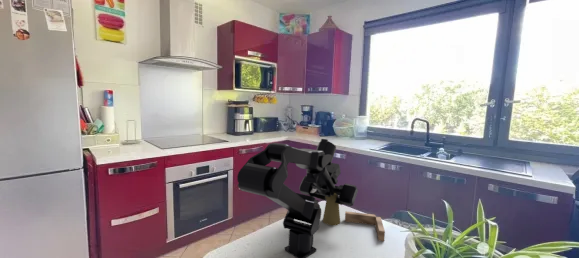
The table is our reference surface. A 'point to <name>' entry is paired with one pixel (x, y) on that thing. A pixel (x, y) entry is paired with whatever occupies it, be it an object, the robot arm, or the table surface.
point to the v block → (367, 221)
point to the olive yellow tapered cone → (331, 211)
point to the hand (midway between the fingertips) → (334, 201)
